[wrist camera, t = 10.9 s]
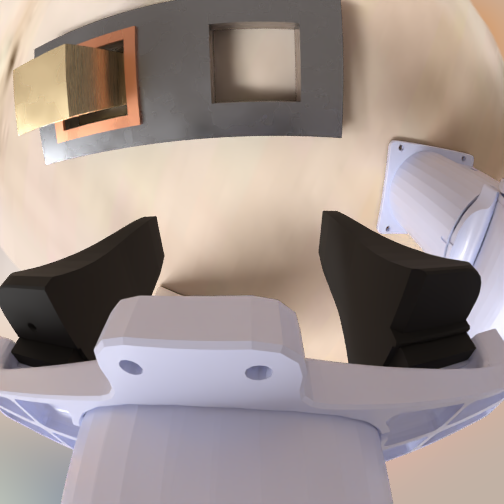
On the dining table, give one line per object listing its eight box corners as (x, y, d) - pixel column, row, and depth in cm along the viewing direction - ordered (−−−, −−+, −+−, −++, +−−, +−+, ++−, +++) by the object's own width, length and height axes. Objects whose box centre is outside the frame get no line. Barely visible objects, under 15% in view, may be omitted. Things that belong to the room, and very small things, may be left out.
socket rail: (332, 7, 13) (341, -2, 11) (333, 133, 18) (342, 138, 16) (48, 49, 13) (32, 49, 11) (59, 157, 18) (43, 165, 17)
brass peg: (127, 54, 15) (65, 43, 8) (130, 103, 17) (69, 117, 10) (82, 67, 15) (13, 70, 8) (86, 114, 17) (18, 135, 10)
